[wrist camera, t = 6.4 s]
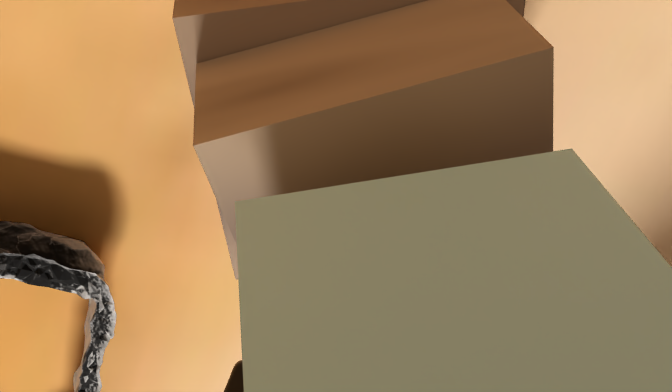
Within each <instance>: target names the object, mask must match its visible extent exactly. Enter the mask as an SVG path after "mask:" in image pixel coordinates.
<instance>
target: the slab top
mask: <svg viewBox="0 0 672 392" xmlns="http://www.w3.org/2000/svg"><path fill="white" fill-rule="evenodd" d="M193 146H194V148H195V151H196V153H197V155H198V158H199V160H200V162H201V164H202V167H203V169H204V171H205V174H206V176H207V178H208V181H209V183H210V185H211V187H212V190H213V192H214V194H215V197H216V199H217V201H218V203H219V206H220V208H221V210H222V213H223V215H224V217H225V219H226V222H227V224H228V226H229V229H230V231H231V233H232V235H233V238H234V240H235V242H236V245H237V238H236V217H235V202H236V201H242V200H248V199H255V198H261V197H267V196H274V195H280V194H287V193H293V192H299V191H306V190H312V189H318V188H325V187H331V186H337V185H344V184H350V183H356V182H363V181H369V180H376V179H382V178H388V177H395V176H401V175H407V174H414V173H420V172H426V171H433V170H439V169H445V168H452V167H458V166H465V165H471V164H477V163H484V162H490V161H496V160H503V159H509V158H515V157H522V156H528V155H534V154H541V153H547V152H553V46H552V45H551V44H550V43H549V42H548V41H547V40H546V39H545V38H544V37H543V36H542V35H541V34H540V33H539V32H538V31H536V30H535V29H534V28H533V27H532V26H531V25H530V24H529V23H528V22H527V21H526V20H525V19H524V18H523V17H522V16H521V15H520V14H519V13H518V12H517V11H516V10H515V9H514V8H513V7H512V6H511V5H510V4H509V3H508V2H507V1H506V0H427V1H423V2H419V3H416V4H412V5H408V6H405V7H401V8H398V9H394V10H390V11H387V12H383V13H379V14H376V15H372V16H368V17H365V18H361V19H357V20H354V21H350V22H346V23H343V24H339V25H336V26H332V27H328V28H325V29H321V30H317V31H314V32H310V33H306V34H303V35H299V36H295V37H292V38H288V39H285V40H281V41H277V42H274V43H270V44H266V45H263V46H259V47H255V48H252V49H248V50H244V51H241V52H237V53H234V54H230V55H226V56H223V57H219V58H215V59H212V60H208V61H204V62H201V63H197V64H196V80H195V109H194V139H193Z"/></svg>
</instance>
